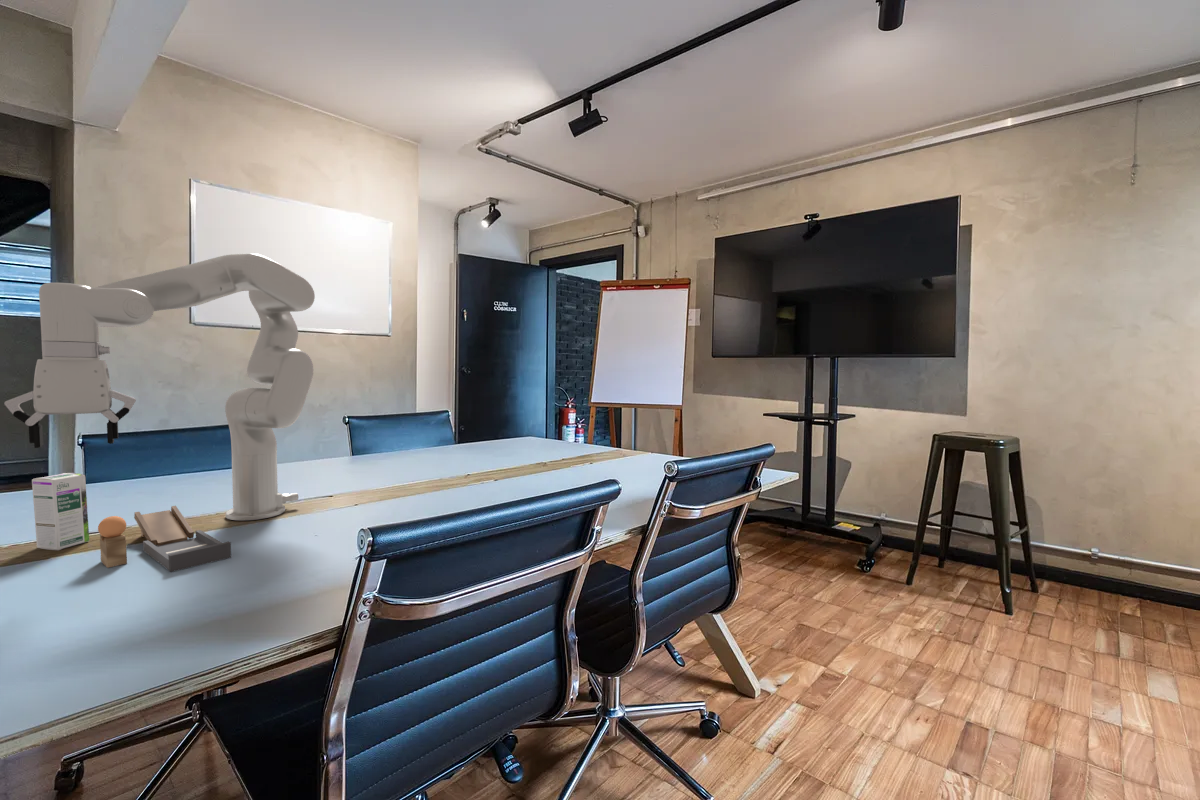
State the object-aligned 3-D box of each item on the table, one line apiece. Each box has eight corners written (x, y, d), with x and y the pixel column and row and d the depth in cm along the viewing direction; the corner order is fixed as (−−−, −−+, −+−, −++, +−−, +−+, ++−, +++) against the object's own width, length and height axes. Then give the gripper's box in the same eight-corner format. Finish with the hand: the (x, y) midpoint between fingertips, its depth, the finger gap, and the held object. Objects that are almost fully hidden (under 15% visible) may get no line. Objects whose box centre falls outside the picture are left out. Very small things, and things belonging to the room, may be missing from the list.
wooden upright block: (120, 557, 105) (119, 530, 105) (127, 563, 102) (125, 536, 102) (101, 561, 103) (99, 534, 102) (107, 567, 100) (106, 539, 100)
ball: (123, 532, 105) (122, 512, 105) (129, 536, 103) (128, 516, 102) (96, 537, 102) (95, 516, 101) (101, 542, 99) (100, 520, 99)
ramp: (175, 529, 122) (174, 505, 122) (194, 540, 115) (193, 515, 115) (134, 537, 117) (133, 511, 116) (151, 549, 109) (150, 522, 109)
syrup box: (57, 550, 108) (54, 479, 107) (35, 548, 109) (31, 477, 108) (90, 541, 114) (86, 473, 112) (68, 539, 115) (64, 471, 114)
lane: (200, 539, 116) (199, 525, 116) (231, 557, 106) (230, 542, 106) (143, 550, 109) (142, 536, 109) (170, 572, 99) (170, 556, 98)
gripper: (134, 353, 107) (138, 439, 108) (7, 350, 96) (12, 445, 98) (132, 353, 101) (136, 443, 102) (-4, 350, 91) (2, 451, 92)
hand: (76, 444), depth 100 cm, fingers open, 9 cm apart
